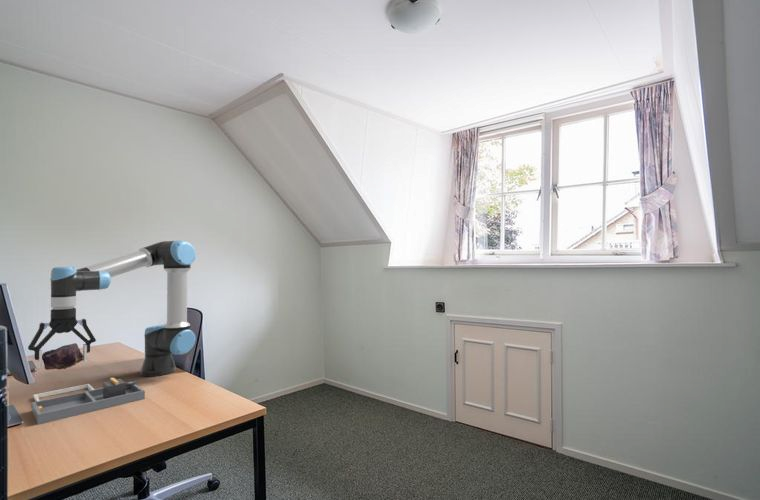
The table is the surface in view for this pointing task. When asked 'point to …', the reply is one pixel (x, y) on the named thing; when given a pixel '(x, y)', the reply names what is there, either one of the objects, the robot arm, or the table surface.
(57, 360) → the rock
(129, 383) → the holder
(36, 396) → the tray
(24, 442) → the table surface
